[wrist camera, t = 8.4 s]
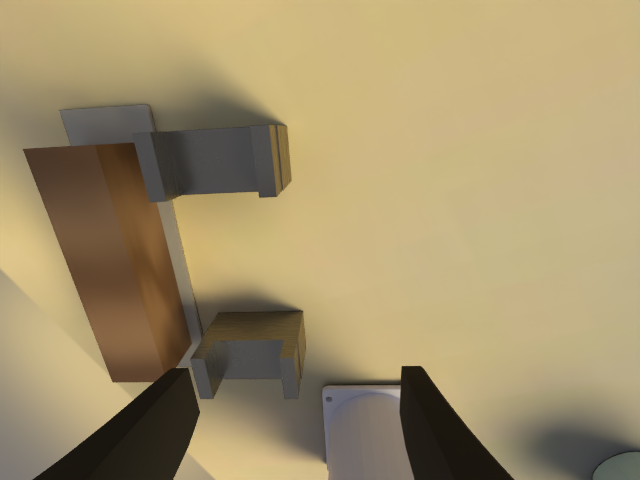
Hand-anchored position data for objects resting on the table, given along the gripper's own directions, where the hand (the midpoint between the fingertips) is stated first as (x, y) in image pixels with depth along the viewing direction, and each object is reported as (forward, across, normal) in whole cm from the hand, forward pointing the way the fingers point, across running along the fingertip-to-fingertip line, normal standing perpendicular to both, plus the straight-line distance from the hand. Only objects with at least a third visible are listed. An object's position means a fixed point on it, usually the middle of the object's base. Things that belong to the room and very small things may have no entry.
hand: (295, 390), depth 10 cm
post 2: (+10, +4, +5) cm, 12 cm away
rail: (+10, +11, -1) cm, 15 cm away
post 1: (+10, +4, -7) cm, 13 cm away
